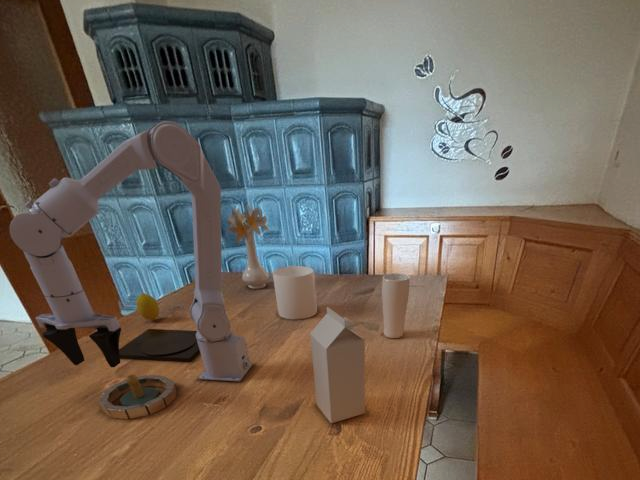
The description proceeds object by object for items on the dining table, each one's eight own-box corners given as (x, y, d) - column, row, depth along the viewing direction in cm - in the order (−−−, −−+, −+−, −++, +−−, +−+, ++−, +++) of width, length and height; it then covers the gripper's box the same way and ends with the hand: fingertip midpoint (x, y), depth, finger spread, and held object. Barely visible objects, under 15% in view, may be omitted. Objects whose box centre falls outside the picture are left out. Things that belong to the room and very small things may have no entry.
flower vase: (238, 296, 130) (221, 212, 115) (241, 280, 144) (226, 204, 129) (277, 293, 132) (265, 210, 117) (276, 278, 146) (265, 202, 131)
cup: (324, 310, 118) (321, 269, 111) (300, 322, 110) (295, 279, 103) (295, 303, 123) (290, 264, 116) (270, 314, 115) (263, 273, 108)
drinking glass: (377, 338, 101) (378, 279, 92) (385, 328, 106) (387, 271, 97) (401, 341, 99) (405, 282, 90) (409, 332, 104) (413, 274, 95)
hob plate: (218, 335, 104) (217, 330, 103) (190, 362, 91) (188, 357, 90) (150, 332, 106) (148, 327, 105) (113, 358, 93) (110, 353, 92)
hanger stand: (166, 391, 80) (157, 367, 77) (147, 410, 75) (136, 385, 71) (135, 390, 81) (125, 366, 78) (114, 408, 75) (102, 383, 72)
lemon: (155, 325, 110) (145, 297, 105) (138, 323, 111) (127, 295, 106) (166, 318, 114) (157, 290, 109) (150, 316, 115) (140, 289, 110)
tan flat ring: (188, 385, 82) (185, 376, 81) (153, 421, 72) (149, 412, 71) (130, 381, 84) (126, 373, 83) (88, 416, 73) (83, 407, 72)
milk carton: (331, 424, 70) (324, 324, 59) (316, 405, 75) (307, 310, 64) (365, 414, 73) (365, 316, 61) (348, 396, 78) (345, 303, 66)
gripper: (6, 298, 63) (47, 371, 71) (86, 301, 62) (119, 376, 70) (40, 285, 69) (74, 355, 77) (114, 288, 67) (141, 358, 75)
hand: (97, 363), depth 74 cm, fingers open, 7 cm apart
